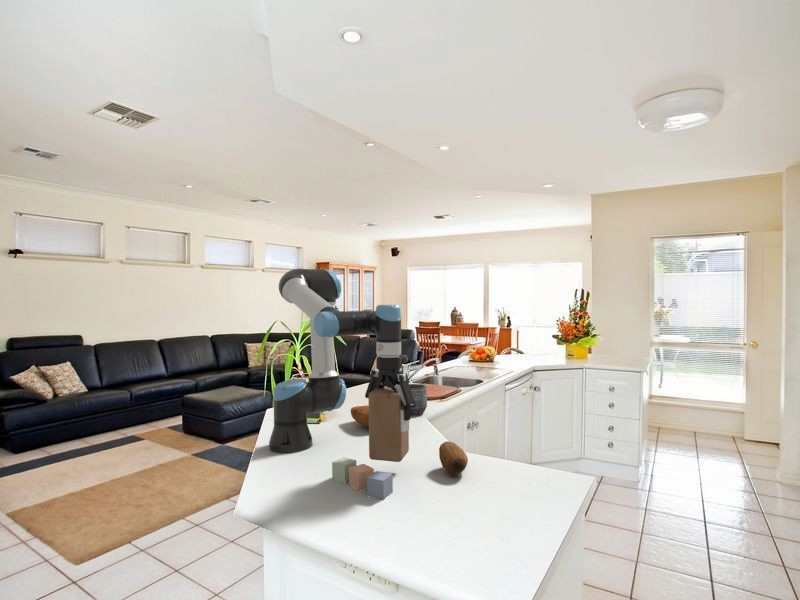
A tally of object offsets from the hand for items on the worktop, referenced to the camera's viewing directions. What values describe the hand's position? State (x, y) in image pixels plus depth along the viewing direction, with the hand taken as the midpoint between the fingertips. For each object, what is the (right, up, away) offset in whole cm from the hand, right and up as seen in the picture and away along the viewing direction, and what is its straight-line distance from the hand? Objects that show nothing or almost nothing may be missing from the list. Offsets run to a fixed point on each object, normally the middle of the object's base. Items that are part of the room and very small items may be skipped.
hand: (389, 426), depth 134 cm
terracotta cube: (-8, -14, -9) cm, 19 cm away
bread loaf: (-7, -15, +53) cm, 55 cm away
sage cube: (-13, -14, -4) cm, 20 cm away
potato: (+20, -14, 0) cm, 24 cm away
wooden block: (0, -9, 0) cm, 9 cm away
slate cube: (-2, -14, -15) cm, 21 cm away
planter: (+10, -15, +71) cm, 74 cm away
